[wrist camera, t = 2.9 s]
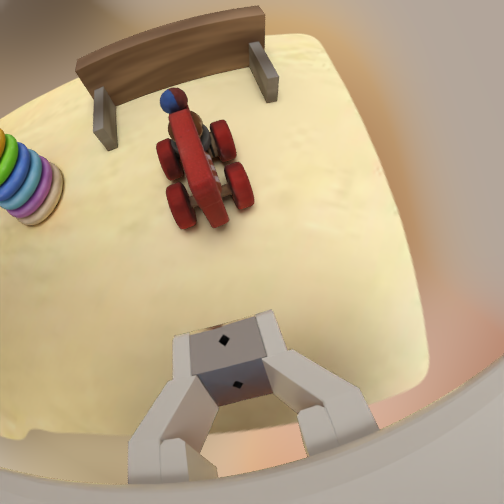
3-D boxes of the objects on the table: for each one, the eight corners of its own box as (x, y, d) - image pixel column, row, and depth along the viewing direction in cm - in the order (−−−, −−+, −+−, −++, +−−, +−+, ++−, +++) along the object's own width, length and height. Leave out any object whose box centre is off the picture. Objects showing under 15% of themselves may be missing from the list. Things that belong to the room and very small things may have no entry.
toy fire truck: (222, 122, 30) (209, 49, 19) (261, 225, 27) (263, 171, 17) (160, 143, 29) (126, 77, 19) (187, 250, 26) (149, 210, 16)
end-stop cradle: (282, 99, 30) (288, 47, 22) (103, 153, 29) (69, 113, 21) (258, 53, 32) (258, 5, 24) (102, 99, 31) (77, 59, 23)
